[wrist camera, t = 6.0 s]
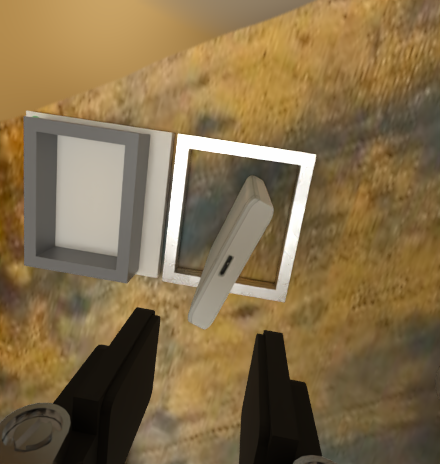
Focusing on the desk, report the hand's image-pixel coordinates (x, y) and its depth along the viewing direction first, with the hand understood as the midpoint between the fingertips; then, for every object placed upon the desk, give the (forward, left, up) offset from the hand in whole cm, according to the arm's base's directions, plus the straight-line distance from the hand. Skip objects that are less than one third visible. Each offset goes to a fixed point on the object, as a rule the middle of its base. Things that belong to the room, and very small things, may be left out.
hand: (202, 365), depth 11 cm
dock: (+13, 0, -21) cm, 25 cm away
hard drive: (0, 0, -21) cm, 21 cm away
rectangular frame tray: (0, 0, -21) cm, 21 cm away
